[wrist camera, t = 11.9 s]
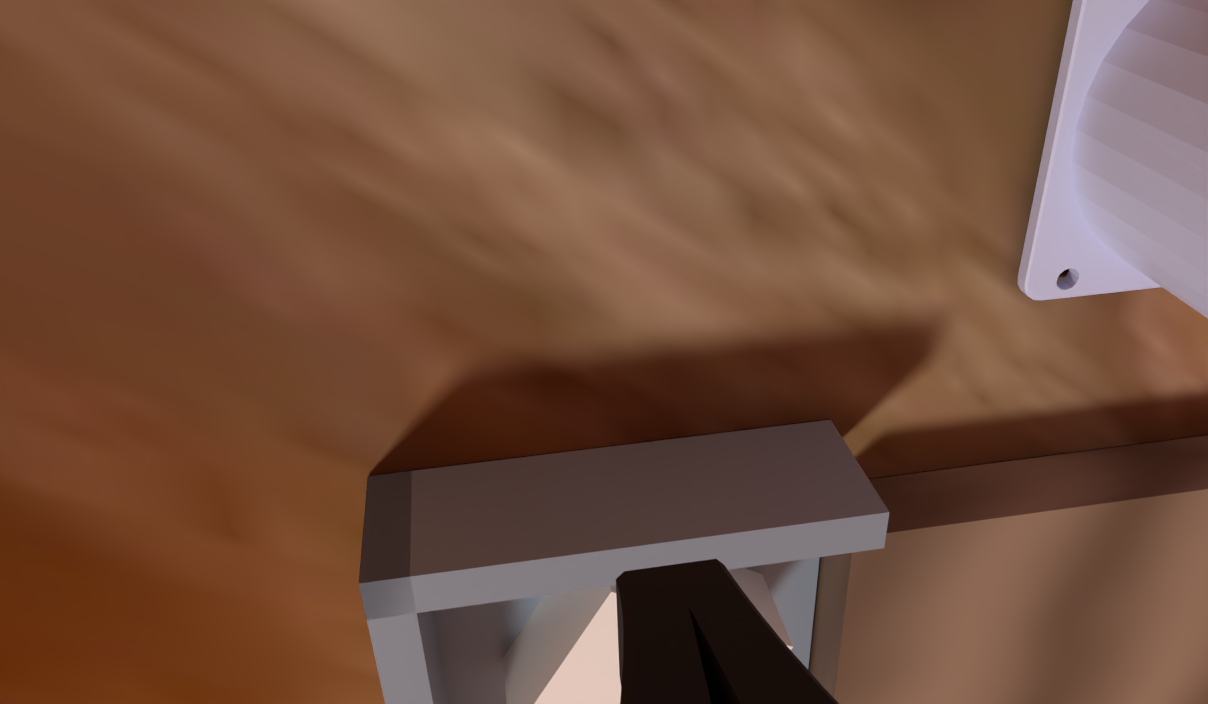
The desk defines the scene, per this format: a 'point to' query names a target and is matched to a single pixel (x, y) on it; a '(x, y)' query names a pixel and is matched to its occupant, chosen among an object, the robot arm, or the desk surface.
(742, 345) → the desk surface
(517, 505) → the box
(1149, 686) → the platform
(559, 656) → the tile
